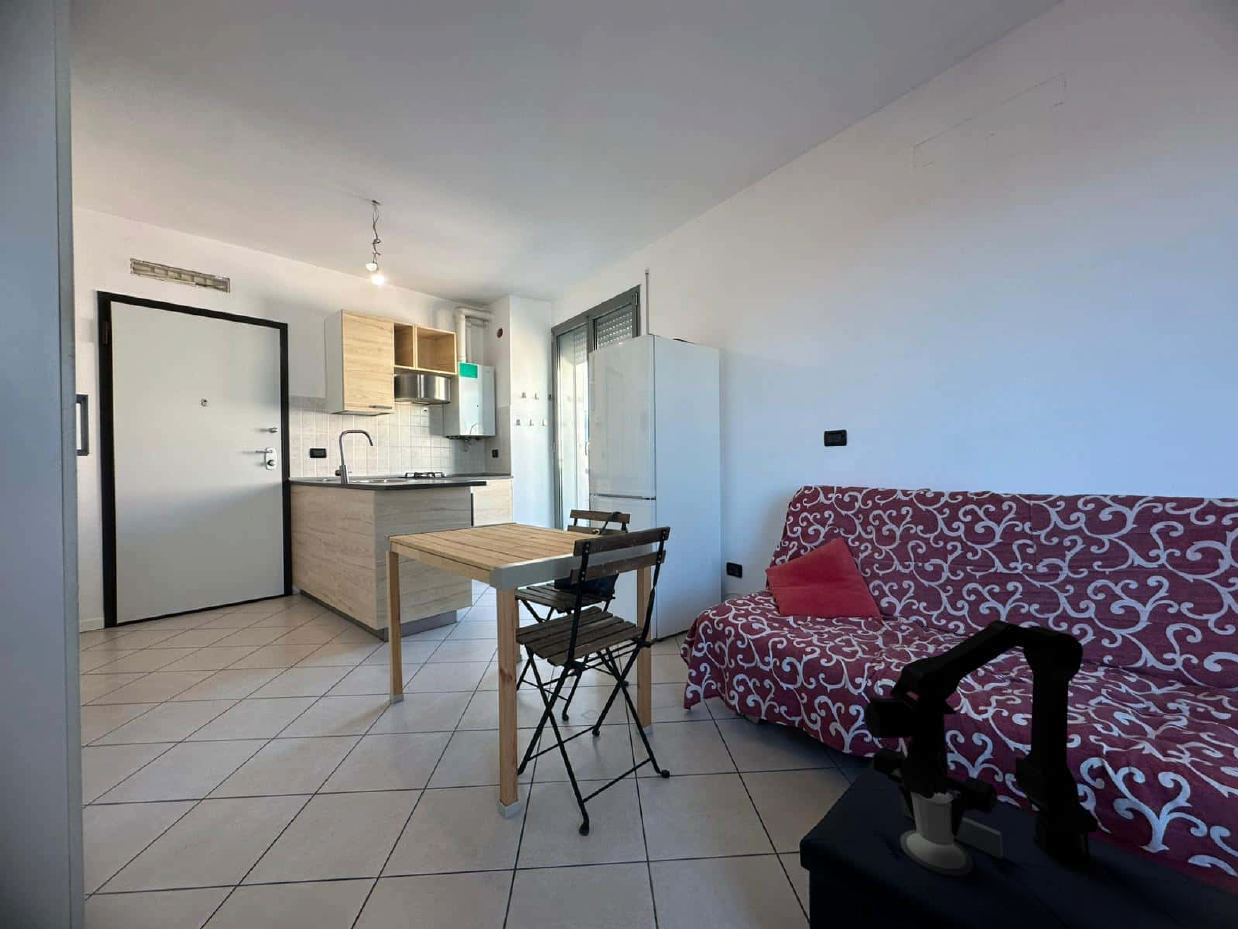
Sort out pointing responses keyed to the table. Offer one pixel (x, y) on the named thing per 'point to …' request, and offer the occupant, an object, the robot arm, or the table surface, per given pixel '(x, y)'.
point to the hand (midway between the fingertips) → (934, 826)
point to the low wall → (973, 834)
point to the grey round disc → (937, 855)
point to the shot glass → (934, 817)
